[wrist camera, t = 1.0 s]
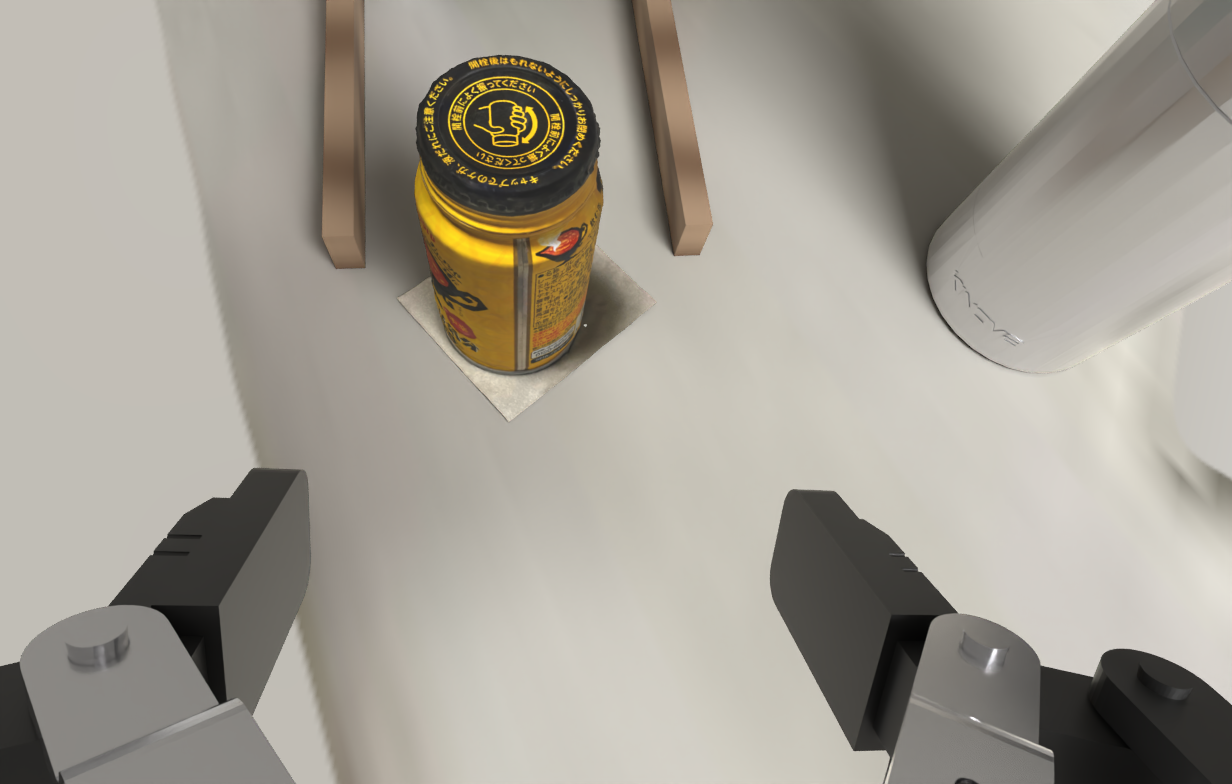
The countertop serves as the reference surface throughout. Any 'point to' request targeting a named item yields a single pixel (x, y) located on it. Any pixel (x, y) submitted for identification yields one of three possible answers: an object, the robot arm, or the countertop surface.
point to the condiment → (514, 229)
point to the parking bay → (348, 131)
